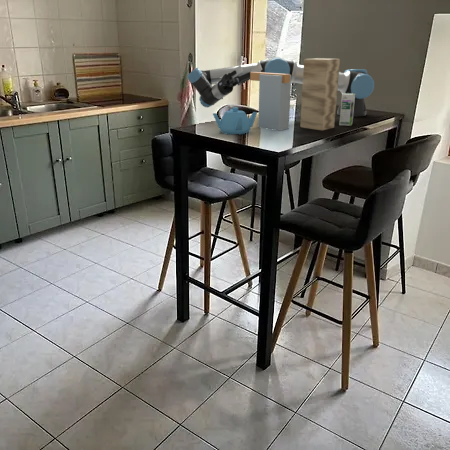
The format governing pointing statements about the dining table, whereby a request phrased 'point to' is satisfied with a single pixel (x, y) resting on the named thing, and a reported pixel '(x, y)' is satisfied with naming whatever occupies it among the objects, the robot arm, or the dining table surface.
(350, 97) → the syrup box
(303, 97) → the wooden block
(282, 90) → the block
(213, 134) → the dining table surface
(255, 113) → the teapot
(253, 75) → the rod
